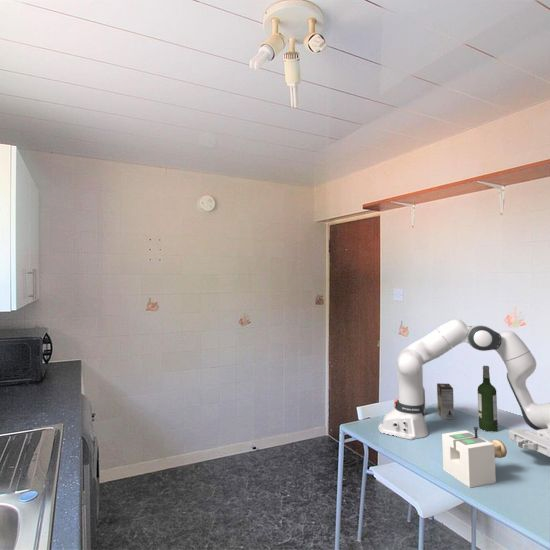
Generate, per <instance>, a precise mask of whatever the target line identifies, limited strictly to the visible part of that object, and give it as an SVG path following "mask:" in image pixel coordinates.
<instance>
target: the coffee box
mask: <svg viewBox="0 0 550 550" xmlns="http://www.w3.org/2000/svg"><path fill="white" fill-rule="evenodd" d="M436 393H437V394H436V395H437V397H436V398H437V413H438V414H439V416H440V418H441V419H443V420H446V419H447V420H455V408H454V406H455V405H454V402H455V401H454V388H453V386H452V385H451V384H450V383H440V382H439V383H436Z"/></svg>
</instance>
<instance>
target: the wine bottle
mask: <svg viewBox="0 0 550 550" xmlns="http://www.w3.org/2000/svg"><path fill="white" fill-rule="evenodd" d="M497 400H498V396H497V389H496V387H495V386H494V385H492V383H491V376H490V366H489V365H483V366H482V382H481V384H479V385H478V387H477V410H478V413H477V414H478V429H480V430H481V429H482V431H484V430H485V431H484V432H488V431H496V432H498V431H497V430H499V426H498V424H499V422H498V403H497V402H498V401H497Z"/></svg>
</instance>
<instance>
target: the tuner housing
mask: <svg viewBox="0 0 550 550" xmlns="http://www.w3.org/2000/svg"><path fill="white" fill-rule="evenodd" d="M477 437H478V438H475V433H472V432H471V431H468V430H459V431H453V432H452V431H451V432H447V433H446V432H445V433H442V434H441V439H442V440H441V441H442V445H441V446H442V468H443V471H444V472H446V473H448V474H449V475H451V477H453V478H455V479H456V480H458V482H460V483H462V484H464V485H465V486H467V488H469V489H471V488H475V487H480V486H487V485H492V484H495V483H496V482H497V481H496V479H497V478H496V461H495V460H496V458H495V452H494V444H493V443H491V441H488V440H487V439H484V438H482V437H479V436H478V435H477Z"/></svg>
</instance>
